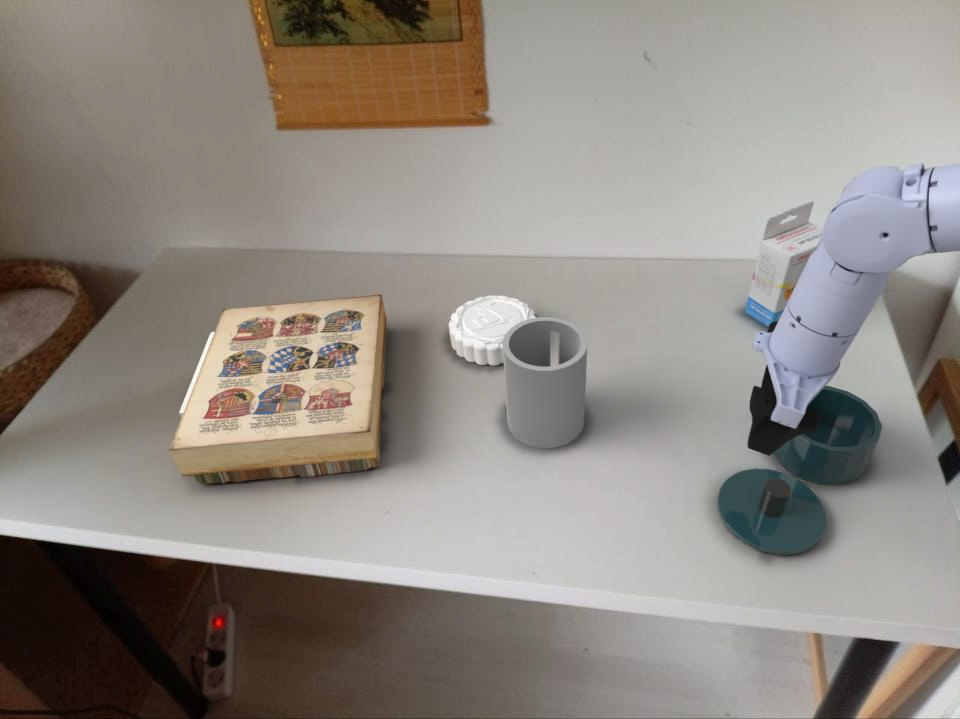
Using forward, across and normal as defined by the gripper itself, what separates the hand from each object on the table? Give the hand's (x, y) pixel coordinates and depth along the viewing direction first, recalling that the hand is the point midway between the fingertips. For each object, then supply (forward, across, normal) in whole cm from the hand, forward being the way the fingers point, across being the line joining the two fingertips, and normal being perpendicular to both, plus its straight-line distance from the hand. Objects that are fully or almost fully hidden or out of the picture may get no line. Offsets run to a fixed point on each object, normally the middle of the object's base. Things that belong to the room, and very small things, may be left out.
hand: (765, 420), depth 65 cm
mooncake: (+16, -14, -34) cm, 40 cm away
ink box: (+12, -33, +1) cm, 35 cm away
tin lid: (+10, +2, +4) cm, 11 cm away
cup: (+14, -2, -21) cm, 26 cm away
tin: (+10, -8, +8) cm, 15 cm away
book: (+19, +6, -53) cm, 57 cm away
